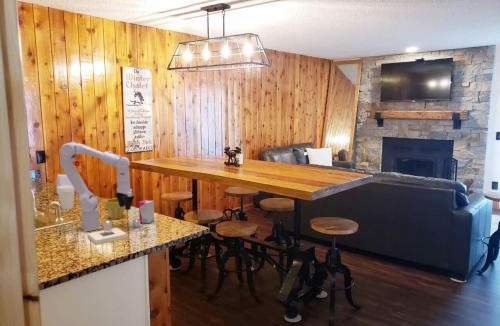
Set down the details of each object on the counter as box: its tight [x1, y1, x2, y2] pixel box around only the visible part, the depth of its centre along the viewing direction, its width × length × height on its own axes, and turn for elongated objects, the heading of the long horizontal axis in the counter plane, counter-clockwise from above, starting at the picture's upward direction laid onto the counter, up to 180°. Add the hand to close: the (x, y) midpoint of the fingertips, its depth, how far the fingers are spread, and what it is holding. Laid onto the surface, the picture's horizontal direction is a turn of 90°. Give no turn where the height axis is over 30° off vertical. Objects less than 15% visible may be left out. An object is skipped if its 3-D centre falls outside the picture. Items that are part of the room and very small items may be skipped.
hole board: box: [87, 227, 128, 245], centre depth 178 cm, size 12×14×2 cm
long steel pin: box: [103, 219, 113, 236], centre depth 178 cm, size 4×4×8 cm
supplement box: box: [138, 199, 155, 225], centre depth 202 cm, size 6×6×12 cm
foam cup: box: [56, 185, 76, 210], centre depth 229 cm, size 10×9×13 cm
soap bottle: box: [55, 163, 72, 195], centre depth 266 cm, size 10×14×22 cm
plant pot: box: [105, 197, 125, 220], centre depth 210 cm, size 10×10×10 cm
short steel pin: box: [132, 218, 141, 229], centre depth 194 cm, size 4×4×4 cm
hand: (124, 208), depth 193 cm, fingers open, 7 cm apart
